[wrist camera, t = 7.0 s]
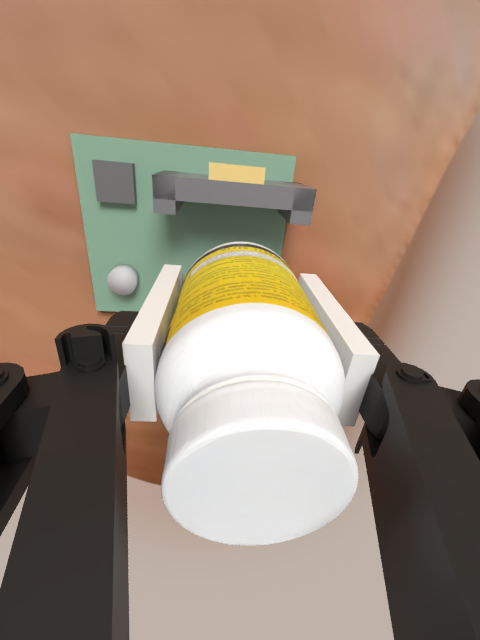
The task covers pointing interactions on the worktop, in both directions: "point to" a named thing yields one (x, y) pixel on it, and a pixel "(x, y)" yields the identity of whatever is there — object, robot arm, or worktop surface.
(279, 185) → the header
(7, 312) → the worktop surface
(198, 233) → the board
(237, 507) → the supplement bottle
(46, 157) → the worktop surface
